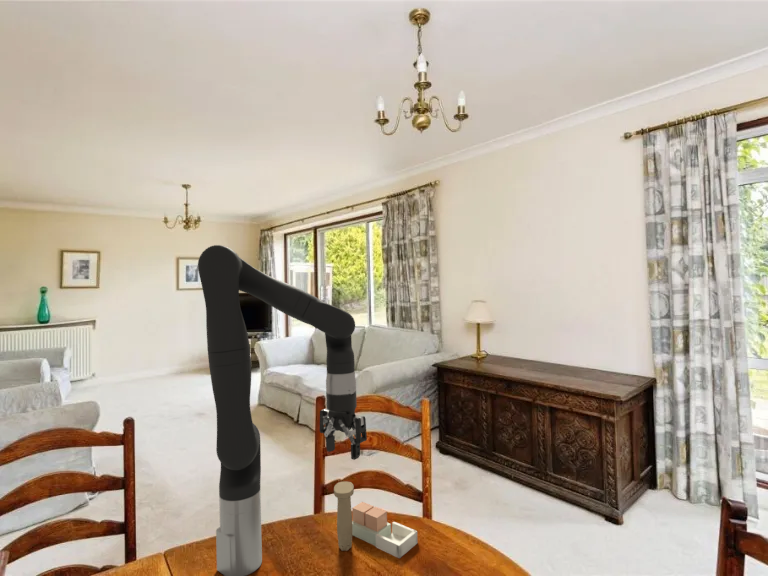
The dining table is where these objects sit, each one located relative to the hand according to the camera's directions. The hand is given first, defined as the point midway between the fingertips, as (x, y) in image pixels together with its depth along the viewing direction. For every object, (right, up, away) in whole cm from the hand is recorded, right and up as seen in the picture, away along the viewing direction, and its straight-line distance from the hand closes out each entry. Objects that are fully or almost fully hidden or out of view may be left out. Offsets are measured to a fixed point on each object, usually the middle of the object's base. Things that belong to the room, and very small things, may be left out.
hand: (342, 454), depth 104 cm
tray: (+14, -23, 0) cm, 26 cm away
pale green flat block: (+7, -23, +5) cm, 24 cm away
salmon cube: (+8, -20, +4) cm, 22 cm away
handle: (+1, -23, 0) cm, 23 cm away
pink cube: (+5, -20, +7) cm, 22 cm away
